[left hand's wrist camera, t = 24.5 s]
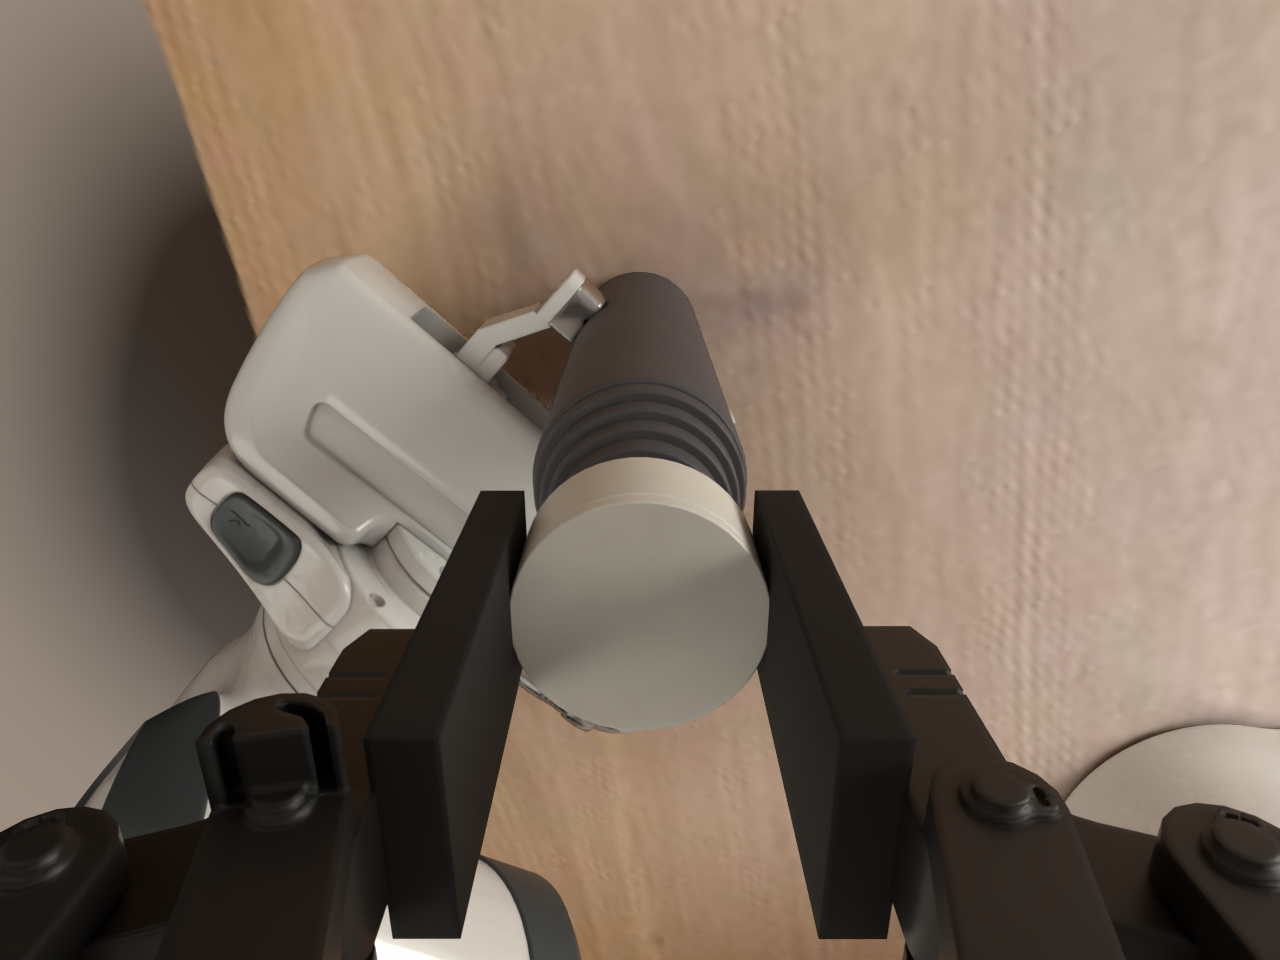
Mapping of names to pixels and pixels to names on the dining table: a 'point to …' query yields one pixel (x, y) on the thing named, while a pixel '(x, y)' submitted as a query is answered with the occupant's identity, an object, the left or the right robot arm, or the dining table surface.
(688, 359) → the bottle
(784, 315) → the dining table surface
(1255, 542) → the dining table surface
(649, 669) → the cap
